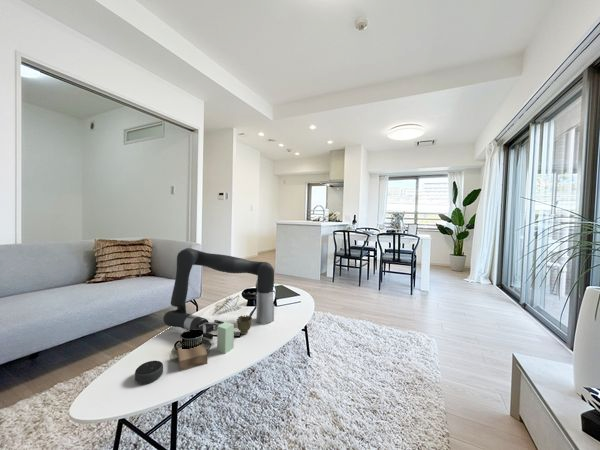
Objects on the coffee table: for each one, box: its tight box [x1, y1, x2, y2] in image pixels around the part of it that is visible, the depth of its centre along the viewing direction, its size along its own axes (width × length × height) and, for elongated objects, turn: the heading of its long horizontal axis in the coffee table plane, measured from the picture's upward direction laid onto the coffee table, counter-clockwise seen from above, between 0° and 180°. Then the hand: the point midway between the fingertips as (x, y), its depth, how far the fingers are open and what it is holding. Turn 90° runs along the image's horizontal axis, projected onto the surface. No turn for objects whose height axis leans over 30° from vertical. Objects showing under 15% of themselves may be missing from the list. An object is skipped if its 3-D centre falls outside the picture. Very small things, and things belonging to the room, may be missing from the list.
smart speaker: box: [134, 360, 164, 385], centre depth 90 cm, size 9×9×4 cm
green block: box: [216, 321, 235, 354], centre depth 109 cm, size 5×5×11 cm
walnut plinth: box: [177, 342, 208, 372], centre depth 100 cm, size 10×10×4 cm
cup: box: [236, 315, 253, 336], centre depth 124 cm, size 8×7×8 cm
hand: (219, 332), depth 111 cm, fingers open, 8 cm apart
